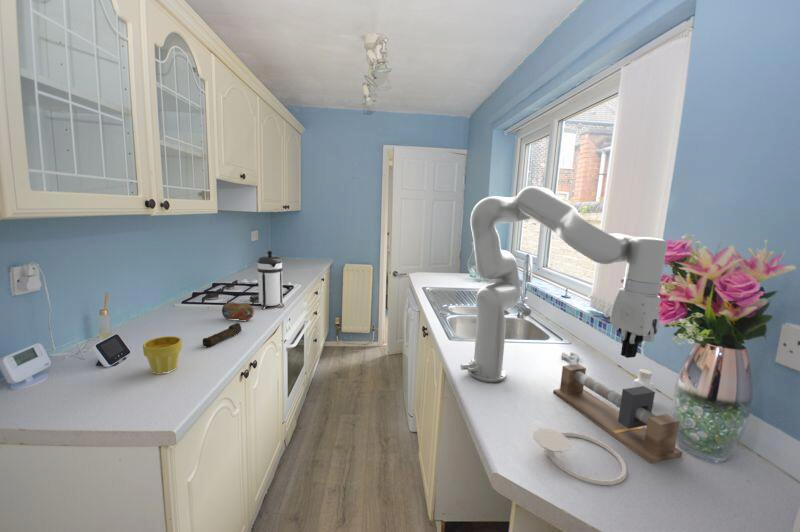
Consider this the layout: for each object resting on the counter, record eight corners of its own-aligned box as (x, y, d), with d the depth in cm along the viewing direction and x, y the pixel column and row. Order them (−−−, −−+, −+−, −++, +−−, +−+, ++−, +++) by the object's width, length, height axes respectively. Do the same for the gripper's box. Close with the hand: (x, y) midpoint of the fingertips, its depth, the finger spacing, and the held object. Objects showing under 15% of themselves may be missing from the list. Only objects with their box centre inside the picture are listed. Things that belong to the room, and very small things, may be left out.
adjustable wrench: (588, 387, 118) (588, 382, 118) (566, 383, 120) (567, 378, 120) (577, 357, 141) (578, 353, 141) (560, 354, 143) (560, 350, 143)
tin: (221, 319, 168) (221, 302, 167) (226, 317, 172) (225, 300, 170) (251, 322, 166) (250, 304, 165) (255, 320, 169) (254, 303, 168)
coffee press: (292, 303, 199) (291, 250, 194) (274, 311, 184) (273, 253, 179) (265, 300, 204) (264, 247, 199) (246, 307, 189) (244, 251, 184)
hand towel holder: (647, 471, 73) (546, 464, 74) (644, 490, 74) (543, 482, 75) (605, 422, 90) (523, 416, 91) (603, 438, 91) (521, 432, 92)
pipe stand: (650, 463, 82) (656, 427, 80) (553, 392, 112) (556, 365, 111) (681, 455, 85) (688, 421, 83) (578, 389, 115) (582, 362, 114)
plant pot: (178, 375, 114) (176, 346, 112) (140, 379, 111) (137, 349, 109) (186, 361, 123) (185, 334, 122) (152, 364, 120) (149, 337, 119)
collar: (628, 428, 89) (633, 395, 87) (617, 421, 92) (622, 389, 90) (649, 424, 91) (655, 391, 89) (638, 418, 94) (643, 386, 92)
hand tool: (210, 349, 135) (209, 337, 135) (202, 347, 137) (201, 335, 136) (246, 333, 153) (246, 322, 152) (238, 331, 154) (238, 321, 154)
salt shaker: (629, 398, 111) (634, 369, 109) (638, 395, 112) (643, 367, 111) (643, 404, 107) (647, 375, 106) (651, 402, 109) (656, 373, 107)
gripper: (604, 280, 95) (593, 345, 98) (658, 295, 81) (644, 371, 84) (625, 280, 97) (614, 343, 100) (682, 294, 83) (667, 368, 86)
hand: (628, 356), depth 92 cm, fingers closed
